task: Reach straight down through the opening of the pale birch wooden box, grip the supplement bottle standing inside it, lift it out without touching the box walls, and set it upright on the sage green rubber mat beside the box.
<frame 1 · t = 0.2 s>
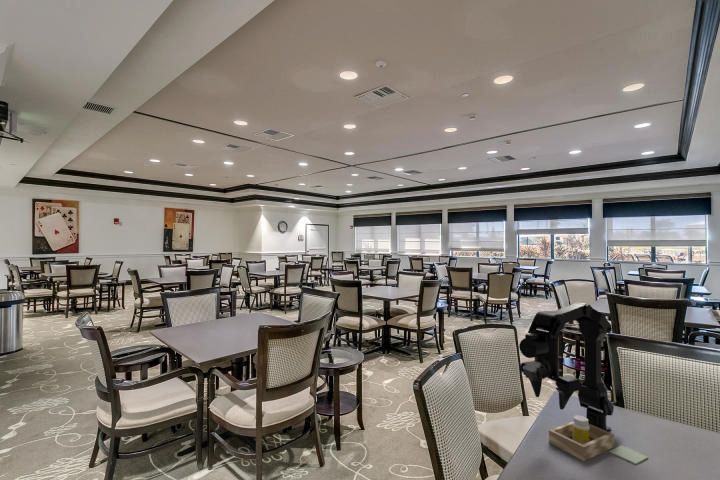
hand: (549, 402, 111), 14 cm above the table, tool pointing down, fingers open, 9 cm apart
supplement bottle: (581, 445, 113), resting in wooden box
sage mat: (628, 455, 107), on the table
wooden box: (581, 444, 113), on the table
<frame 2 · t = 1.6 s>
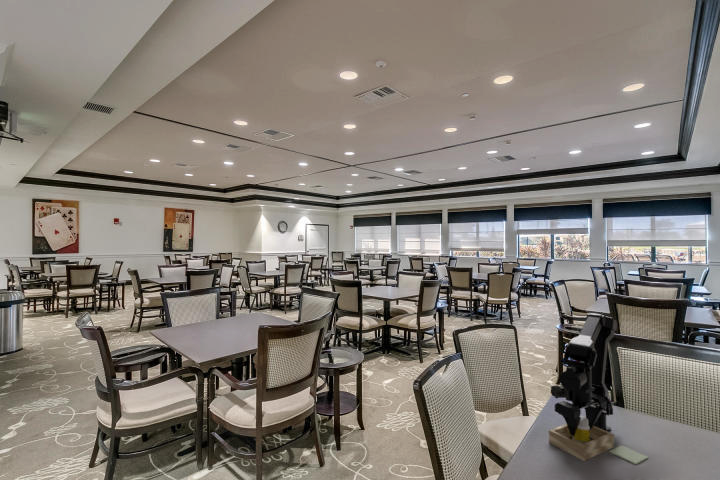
hand: (581, 431, 113), 4 cm above the table, tool pointing down, fingers open, 9 cm apart
nothing on the table moved.
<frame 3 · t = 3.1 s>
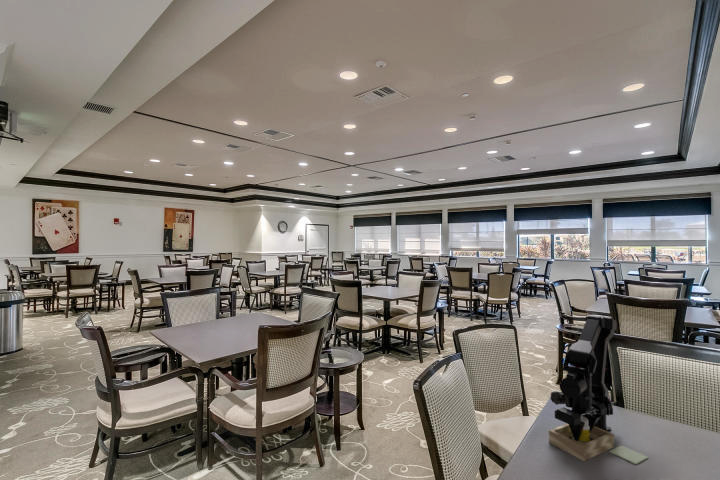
hand: (581, 438, 113), 2 cm above the table, tool pointing down, fingers closed on supplement bottle, 5 cm apart
supplement bottle: (581, 445, 113), resting in wooden box, touching gripper
everything else where it was.
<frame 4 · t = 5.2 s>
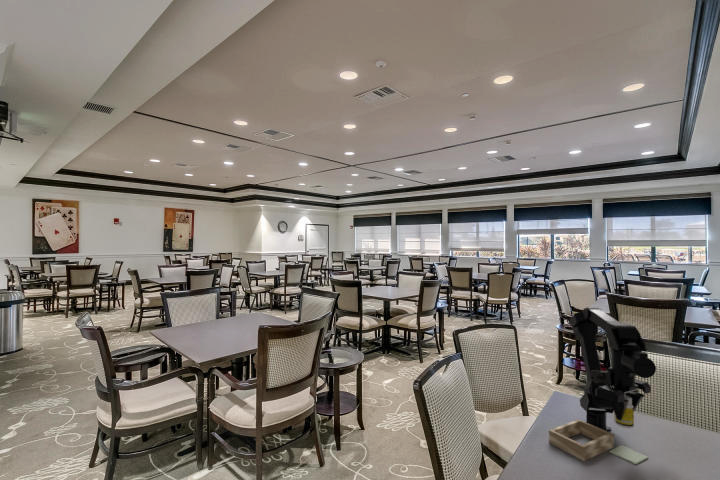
hand: (623, 417, 108), 11 cm above the table, tool pointing down, fingers closed on supplement bottle, 5 cm apart
supplement bottle: (623, 425, 108), point 9 cm above the table, touching gripper
everything else where it was.
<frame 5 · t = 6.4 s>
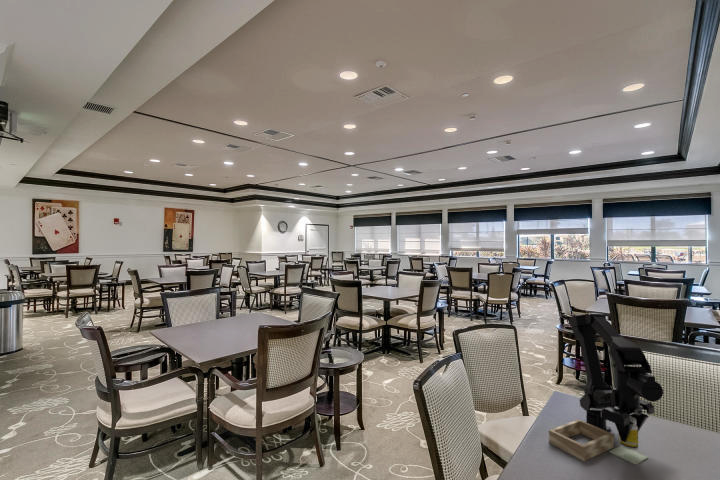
hand: (628, 439, 108), 5 cm above the table, tool pointing down, fingers closed on supplement bottle, 5 cm apart
supplement bottle: (628, 446, 108), point 3 cm above the table, touching gripper
everything else where it was.
when the fingers open (4 cm above the table, at t = 7.3 s): supplement bottle drops 1 cm, resting on sage mat.
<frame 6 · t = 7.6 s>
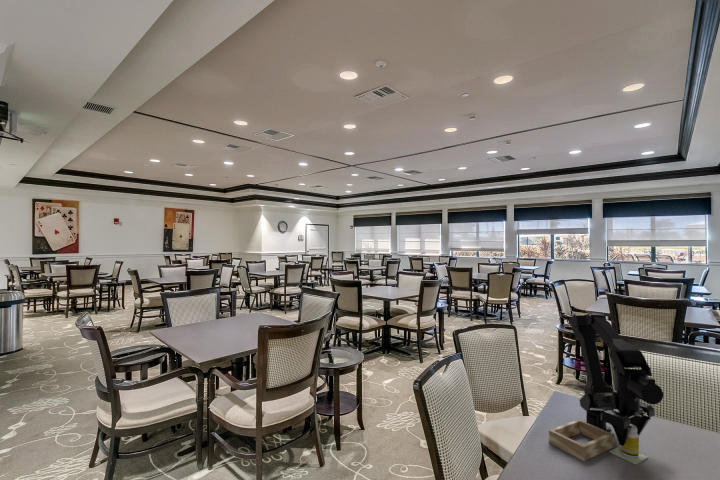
hand: (628, 441, 108), 4 cm above the table, tool pointing down, fingers open, 7 cm apart
supplement bottle: (628, 454, 108), resting on sage mat
everything else where it was.
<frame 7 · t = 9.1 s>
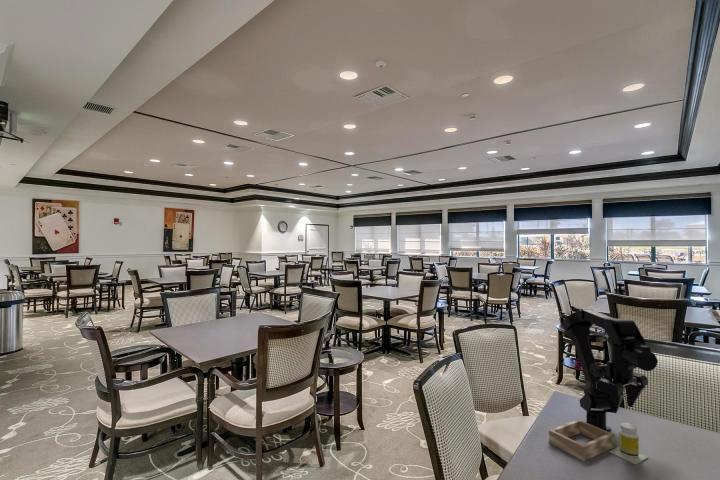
hand: (622, 409, 112), 12 cm above the table, tool pointing down, fingers open, 9 cm apart
nothing on the table moved.
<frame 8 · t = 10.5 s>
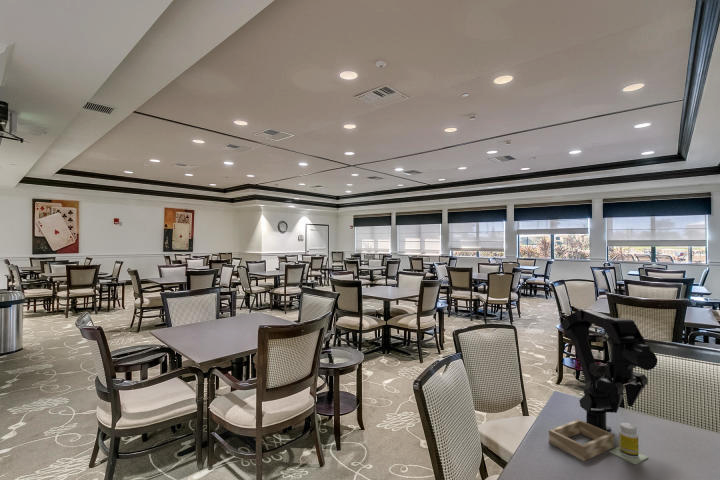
hand: (622, 409, 112), 12 cm above the table, tool pointing down, fingers open, 9 cm apart
nothing on the table moved.
at the end: supplement bottle 0.1 cm off-centre on the sage mat, point 0.2 cm above the sage mat's base; supplement bottle tilted 0°; wooden box moved 0.0 cm from its start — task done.
